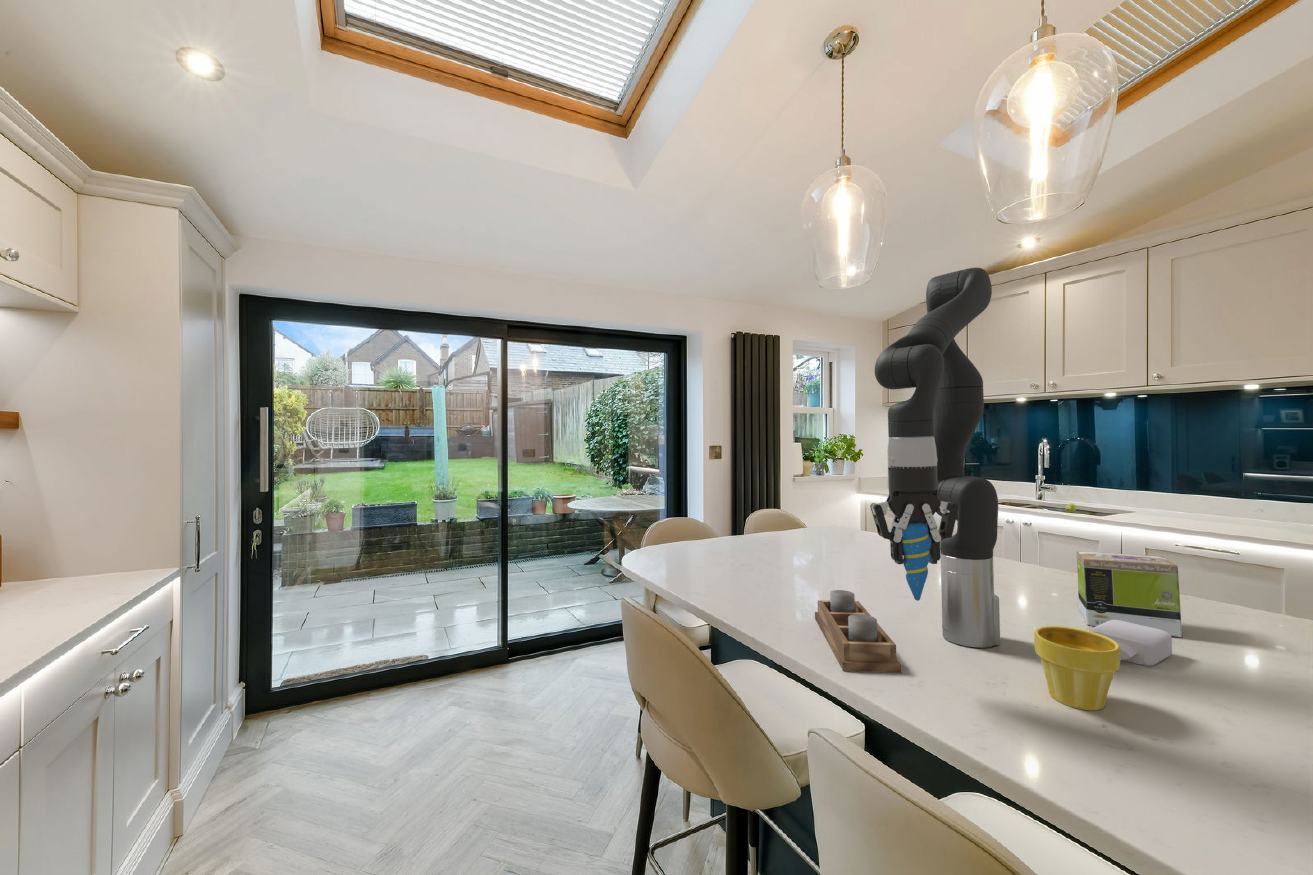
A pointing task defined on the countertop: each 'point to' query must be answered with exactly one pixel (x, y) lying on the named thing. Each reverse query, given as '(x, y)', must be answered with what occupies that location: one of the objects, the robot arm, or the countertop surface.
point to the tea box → (1129, 590)
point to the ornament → (916, 556)
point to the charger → (1137, 641)
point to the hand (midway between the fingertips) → (915, 562)
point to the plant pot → (1077, 665)
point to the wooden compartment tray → (855, 635)
